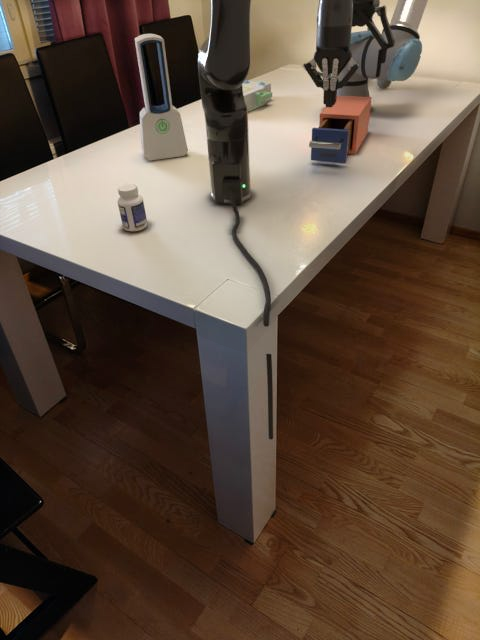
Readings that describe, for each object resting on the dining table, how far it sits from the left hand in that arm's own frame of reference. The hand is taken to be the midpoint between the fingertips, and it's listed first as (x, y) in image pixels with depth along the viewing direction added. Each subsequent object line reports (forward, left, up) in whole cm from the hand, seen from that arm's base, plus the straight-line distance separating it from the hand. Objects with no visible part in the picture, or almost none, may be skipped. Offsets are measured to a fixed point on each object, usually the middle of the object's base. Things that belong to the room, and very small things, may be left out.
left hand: (329, 106), depth 117 cm
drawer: (+9, -2, -14) cm, 17 cm away
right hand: (+28, -6, +1) cm, 28 cm away
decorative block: (+60, +32, -16) cm, 70 cm away
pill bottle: (-34, +40, -16) cm, 55 cm away
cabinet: (+22, -5, -16) cm, 27 cm away
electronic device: (+10, +46, -16) cm, 50 cm away
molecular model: (+89, -12, -16) cm, 92 cm away
